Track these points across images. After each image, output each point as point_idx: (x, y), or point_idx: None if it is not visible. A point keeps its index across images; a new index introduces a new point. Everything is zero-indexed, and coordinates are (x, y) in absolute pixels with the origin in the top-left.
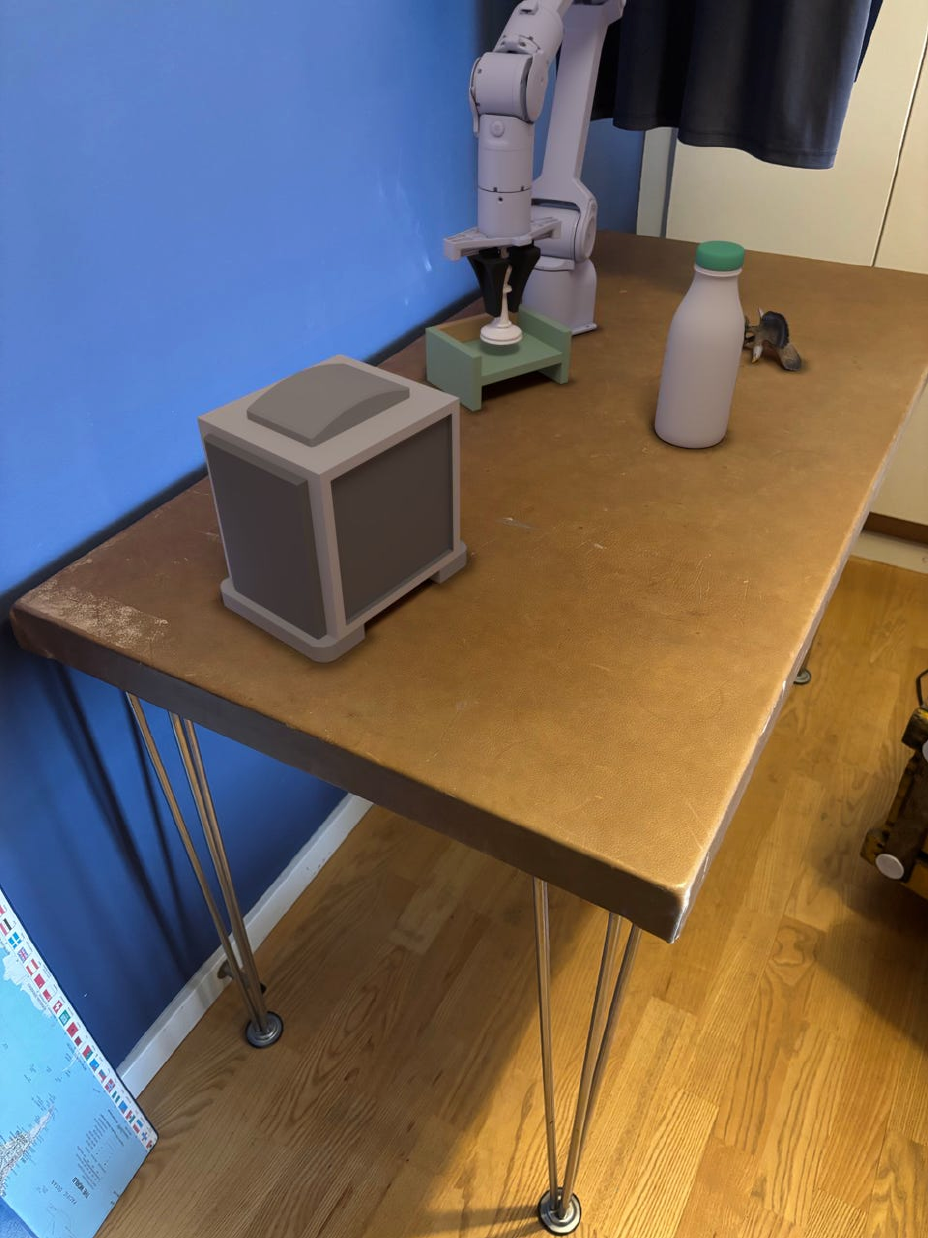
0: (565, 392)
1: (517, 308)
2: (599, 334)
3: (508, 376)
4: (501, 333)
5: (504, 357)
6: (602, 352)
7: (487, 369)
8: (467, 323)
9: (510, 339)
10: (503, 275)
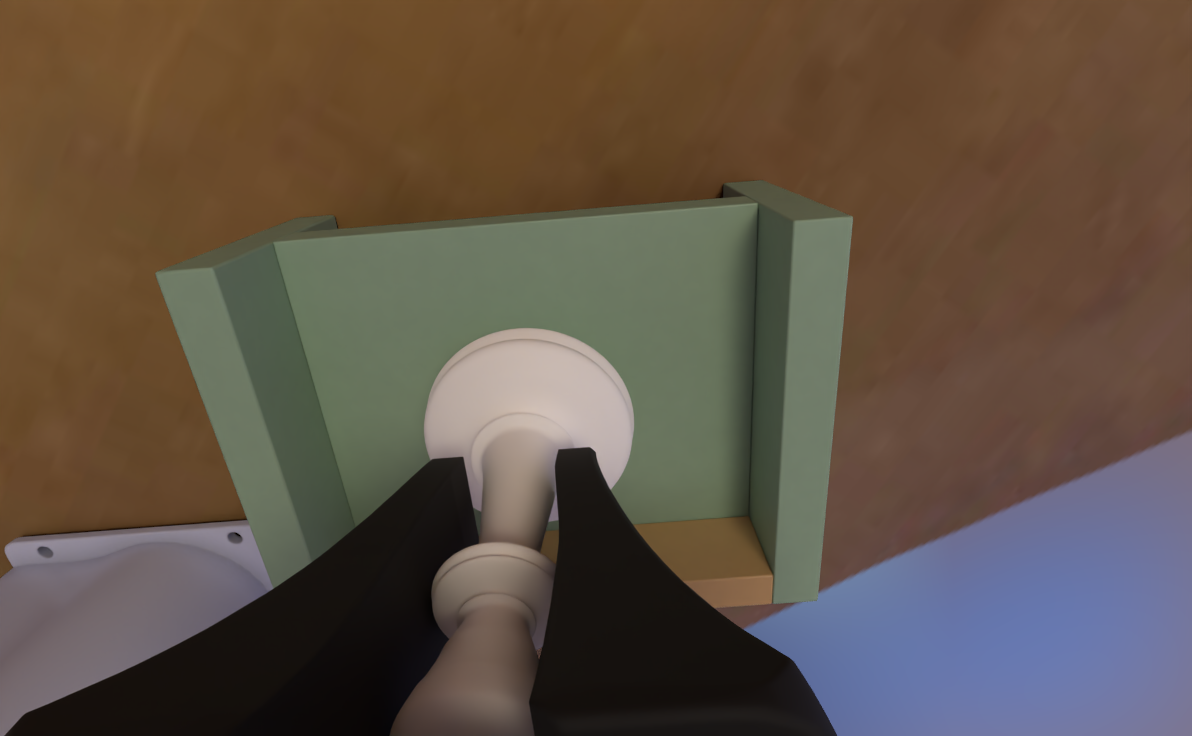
0: (346, 142)
1: (431, 465)
2: (19, 501)
3: (600, 208)
4: (562, 389)
5: (556, 327)
6: (58, 376)
7: (693, 255)
8: None
9: (532, 339)
10: (577, 609)
